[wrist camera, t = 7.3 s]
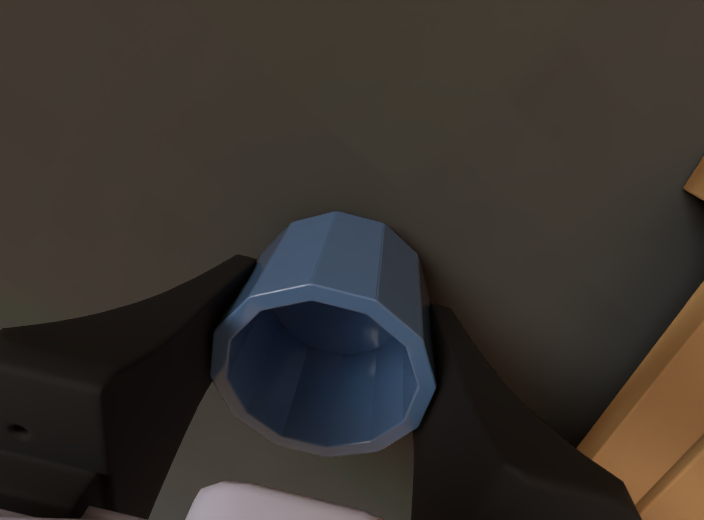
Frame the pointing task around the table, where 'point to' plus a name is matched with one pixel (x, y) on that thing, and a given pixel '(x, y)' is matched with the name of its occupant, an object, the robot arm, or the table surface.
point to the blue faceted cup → (329, 339)
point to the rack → (661, 417)
